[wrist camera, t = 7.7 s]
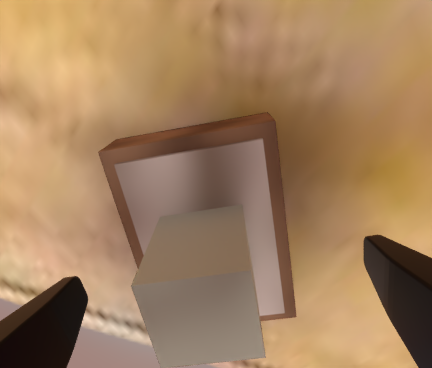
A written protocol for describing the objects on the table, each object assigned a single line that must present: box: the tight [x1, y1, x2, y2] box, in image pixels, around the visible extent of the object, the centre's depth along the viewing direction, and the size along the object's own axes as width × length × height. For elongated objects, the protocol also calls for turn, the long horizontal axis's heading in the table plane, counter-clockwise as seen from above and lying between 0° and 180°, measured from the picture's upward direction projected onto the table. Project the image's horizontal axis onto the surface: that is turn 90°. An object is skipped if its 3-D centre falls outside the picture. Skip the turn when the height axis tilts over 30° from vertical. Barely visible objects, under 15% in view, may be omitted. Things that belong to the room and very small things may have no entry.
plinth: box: [98, 112, 296, 321], centre depth 20 cm, size 10×14×3 cm
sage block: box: [131, 204, 266, 368], centre depth 16 cm, size 5×5×6 cm
